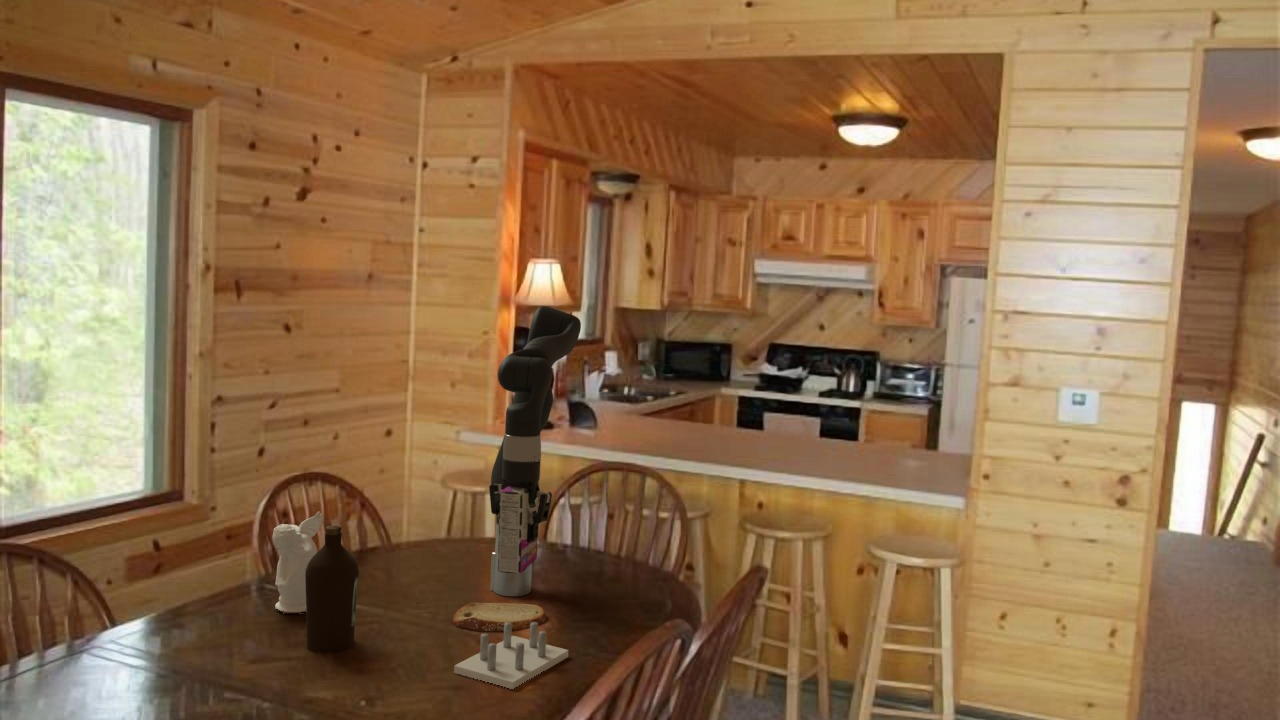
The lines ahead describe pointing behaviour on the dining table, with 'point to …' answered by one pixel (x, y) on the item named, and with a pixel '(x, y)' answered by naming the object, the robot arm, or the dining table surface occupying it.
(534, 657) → the pin tray
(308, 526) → the cherub figurine
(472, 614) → the bread slice
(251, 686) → the dining table surface
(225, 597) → the dining table surface
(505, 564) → the candy bar box
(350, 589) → the olive oil
